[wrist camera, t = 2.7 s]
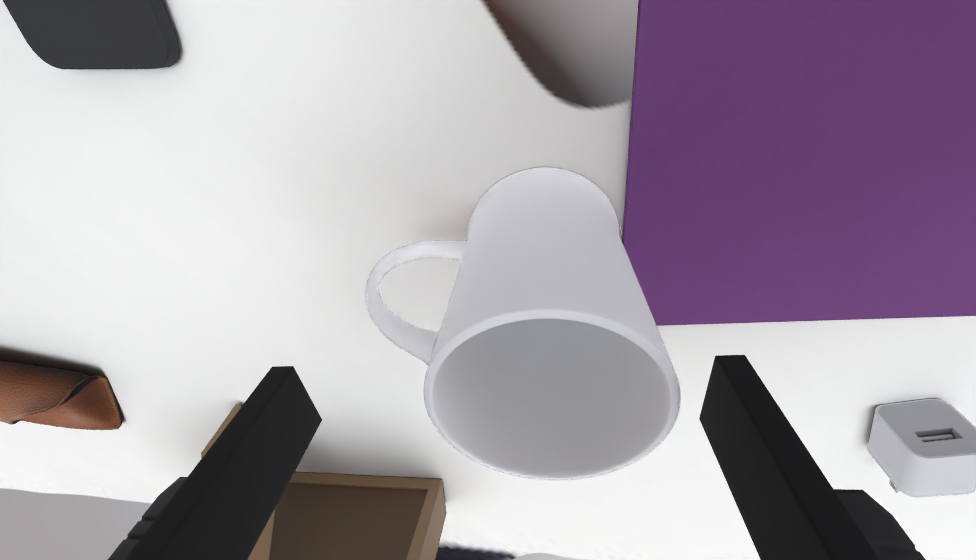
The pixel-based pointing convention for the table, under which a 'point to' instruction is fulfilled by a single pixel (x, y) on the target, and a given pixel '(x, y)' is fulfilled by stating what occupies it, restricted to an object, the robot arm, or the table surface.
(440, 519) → the photo frame
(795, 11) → the cloth
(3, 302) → the table surface
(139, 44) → the phone
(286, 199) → the table surface
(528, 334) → the mug
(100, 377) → the sunglasses case
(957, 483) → the usb wall charger
